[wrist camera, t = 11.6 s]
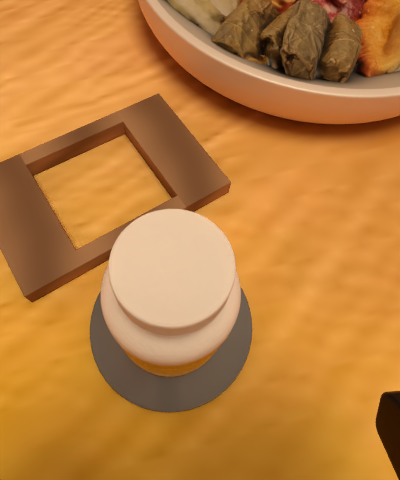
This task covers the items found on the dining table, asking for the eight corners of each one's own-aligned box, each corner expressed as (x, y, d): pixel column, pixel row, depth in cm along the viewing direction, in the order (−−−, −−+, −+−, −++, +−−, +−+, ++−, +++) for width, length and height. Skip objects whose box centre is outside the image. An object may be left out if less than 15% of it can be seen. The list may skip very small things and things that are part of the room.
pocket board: (32, 302, 21) (24, 296, 19) (-26, 188, 23) (-36, 177, 22) (228, 192, 24) (231, 182, 23) (159, 105, 27) (158, 93, 26)
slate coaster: (144, 450, 18) (143, 452, 17) (64, 302, 21) (61, 300, 20) (281, 347, 20) (284, 346, 20) (194, 227, 23) (194, 223, 23)
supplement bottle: (232, 362, 19) (283, 328, 10) (132, 391, 18) (94, 380, 10) (205, 270, 21) (229, 176, 13) (114, 291, 20) (70, 206, 12)
